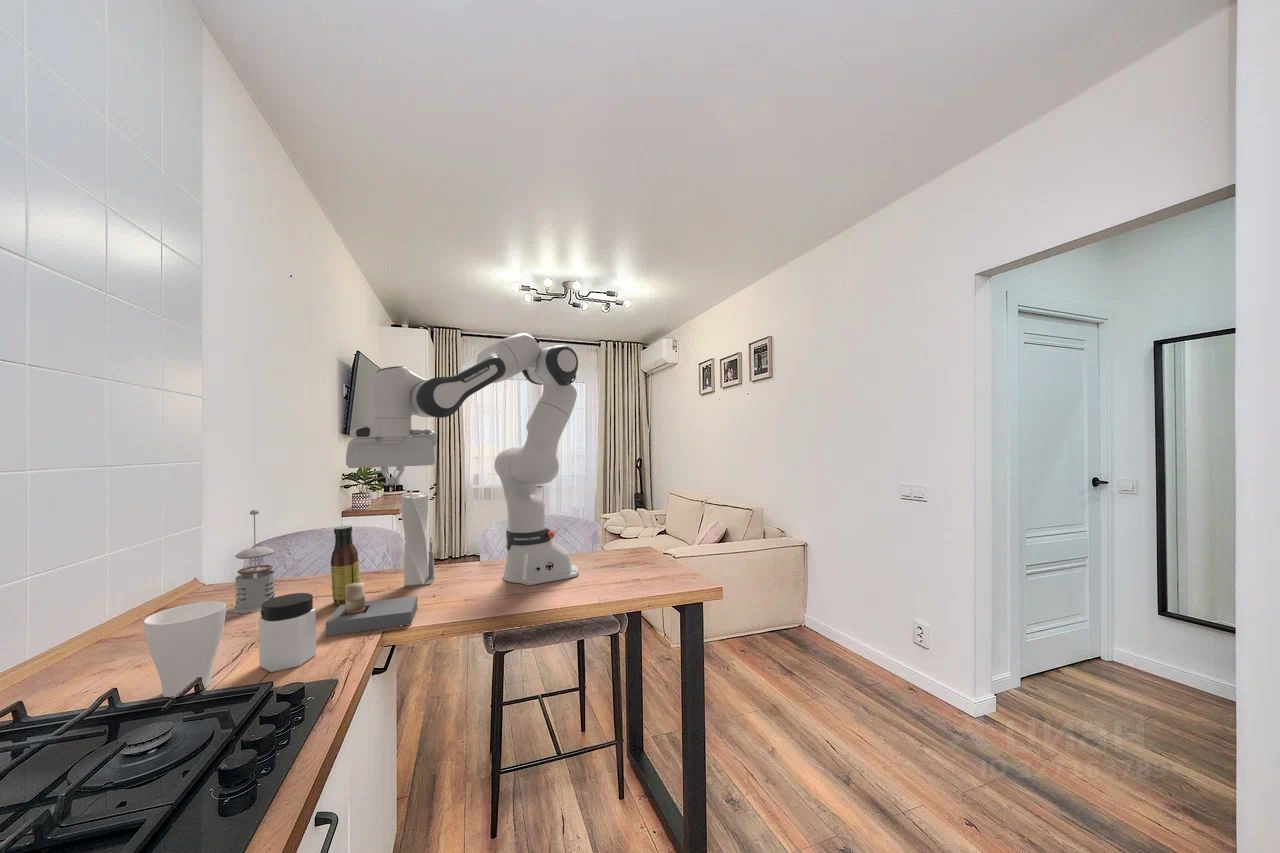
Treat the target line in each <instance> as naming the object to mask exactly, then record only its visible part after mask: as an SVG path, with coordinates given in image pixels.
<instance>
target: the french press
mask: <svg viewBox="0 0 1280 853" xmlns="http://www.w3.org/2000/svg"><path fill="white" fill-rule="evenodd" d="M259 514H260V511H259V510H258V509H252V510H250V512H249V515H251V516H252V515H253V536H254V537H253V540H254V541H253V545H254V546H252V547H249V548H248V547H247V548H246V549H243V550H240V552H238V553H236V554H235V555H234V557H235V558H236V559H237V560H238V559H239V560H249V559H250V560H249V562H250V566H247V567H243V568H241V569H239V570H238V571H237V574H239V575H237V576H236V577H235V605H234V607H233V608H232V609H231V610H230V612H231V613H232V612H233V613H232V614H237V613H241V614H248V613H247V612H251V613H253V612H252V611H257V610H260V609H261V605H262V604H263V603H264V602H265V601H267V600H269V599H272V598H275V597H276V587H275V585H276V582H275V581H276V578H275V577H276V575H275V571H274V570H272V569H273V565H271V564H261V563H260V561H261V559H260V558H264V557H267V556H270V555H273V554H274V553H275V552H276V551H275V549H273V548H271V547H267V546H256V515H259ZM253 559H254V560H253ZM257 561H258V563H257ZM253 562H254V565H253ZM256 563H257V564H258V565H257V564H256ZM252 565H253V566H252ZM255 574H256V577H254V575H255ZM257 612H258V611H257Z"/></svg>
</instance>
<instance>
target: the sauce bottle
mask: <svg viewBox="0 0 1280 853" xmlns="http://www.w3.org/2000/svg"><path fill="white" fill-rule="evenodd" d="M352 532H353V526H352V525H340V526H336V527H334V529H333V534H334V536H335V537H334V544H335V545H334V547H333V551H332V553H331V557H330V570H331V589H332V592H331V593H332V595H331V596H332V599H333V603H334V604H335V605H337V606H340V605H344V604H346V594H345V586H346V585H348V584H351V583H357V582H361V581H360V563H359V562H360V561H359V553H358V550H357V547H356V546H355V544H354V543H353V535H352Z"/></svg>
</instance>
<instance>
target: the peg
mask: <svg viewBox="0 0 1280 853" xmlns="http://www.w3.org/2000/svg"><path fill="white" fill-rule="evenodd" d="M345 594H346V610H345V612H346V614H347V615H355V614H363V611H364V610H365V602H366V601H365V600H366V598H365V582H362V581H360V582H357V583H351V584H348V585H346V586H345Z"/></svg>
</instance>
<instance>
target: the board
mask: <svg viewBox="0 0 1280 853" xmlns="http://www.w3.org/2000/svg"><path fill="white" fill-rule="evenodd" d="M345 610H346V604H344V605H338V606H337V608H336V609H335V611H333V613H332V614H331V615H330V617H329V618H328V619H327V620H326V621H325V636H326V637H331V636H337V635H345V634H352V633H361V632H368V631H374V630H382V629H383V628H384V629H389V628H388V627H391V628H395V627H394V626H399V627H401V626H400V625H406V626H408V625H407V624H411V623H412V624H413V622H412V621H414V619H415V616H416V613H417V611H416V610H418V595H415V596H413V595H412V596H408V597H407V596H405V597H395V598H388V599H379V600H373V601H372V600H371V601H365V610H364V611H363V614H355V615H347V614H346V612H345ZM413 618H414V619H413ZM412 624H411V625H412Z"/></svg>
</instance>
